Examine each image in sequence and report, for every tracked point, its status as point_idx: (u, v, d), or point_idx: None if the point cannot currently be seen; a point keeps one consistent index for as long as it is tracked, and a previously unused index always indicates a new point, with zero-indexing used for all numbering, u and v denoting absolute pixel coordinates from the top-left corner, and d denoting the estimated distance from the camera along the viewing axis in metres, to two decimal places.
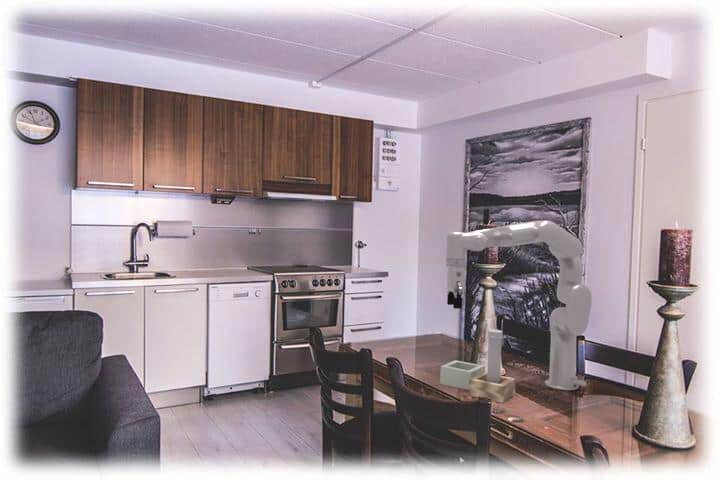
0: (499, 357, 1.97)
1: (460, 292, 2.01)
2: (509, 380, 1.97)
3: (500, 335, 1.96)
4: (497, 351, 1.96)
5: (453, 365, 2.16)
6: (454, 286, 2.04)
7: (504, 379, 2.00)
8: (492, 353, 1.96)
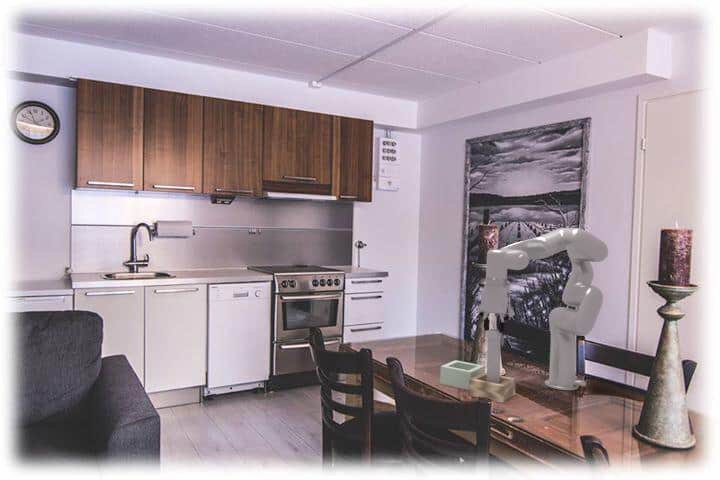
0: (498, 357, 1.97)
1: None
2: (509, 380, 1.97)
3: (499, 335, 1.96)
4: (497, 351, 1.96)
5: (453, 365, 2.16)
6: (505, 310, 1.94)
7: (504, 379, 2.00)
8: (491, 353, 1.96)
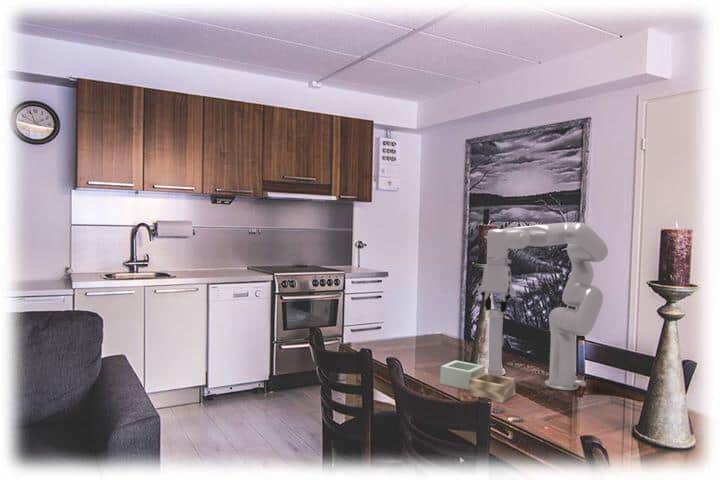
0: (500, 336, 1.97)
1: None
2: (509, 380, 1.97)
3: (501, 314, 1.96)
4: (498, 330, 1.96)
5: (453, 365, 2.16)
6: (506, 289, 1.94)
7: (504, 379, 2.00)
8: (493, 332, 1.96)
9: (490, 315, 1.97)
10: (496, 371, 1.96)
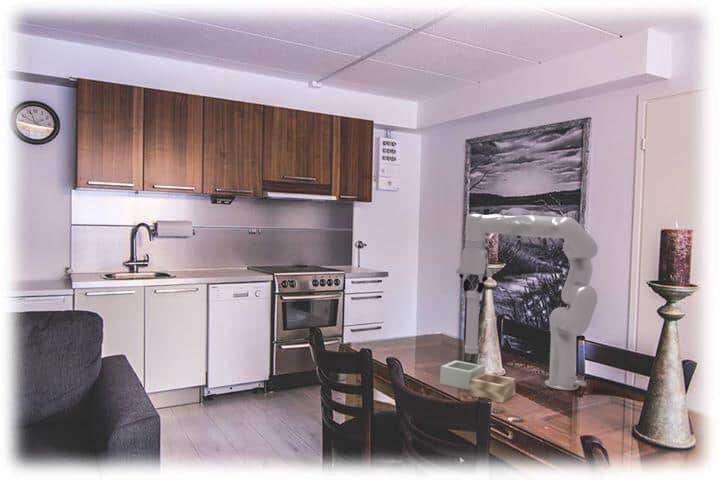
0: (477, 316, 2.06)
1: (488, 277, 2.04)
2: (509, 380, 1.97)
3: (478, 295, 2.06)
4: (475, 310, 2.06)
5: (453, 365, 2.16)
6: (483, 271, 2.04)
7: (504, 379, 2.00)
8: (470, 312, 2.06)
9: (468, 296, 2.07)
10: (472, 349, 2.06)
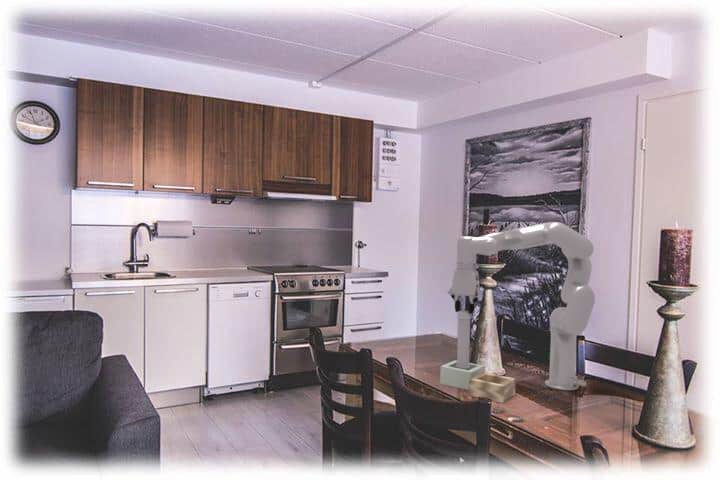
0: (468, 336, 2.10)
1: (479, 298, 2.08)
2: (509, 380, 1.97)
3: (469, 316, 2.10)
4: (466, 331, 2.10)
5: (453, 365, 2.16)
6: (474, 293, 2.08)
7: (504, 379, 2.00)
8: (461, 332, 2.10)
9: (459, 316, 2.11)
10: None
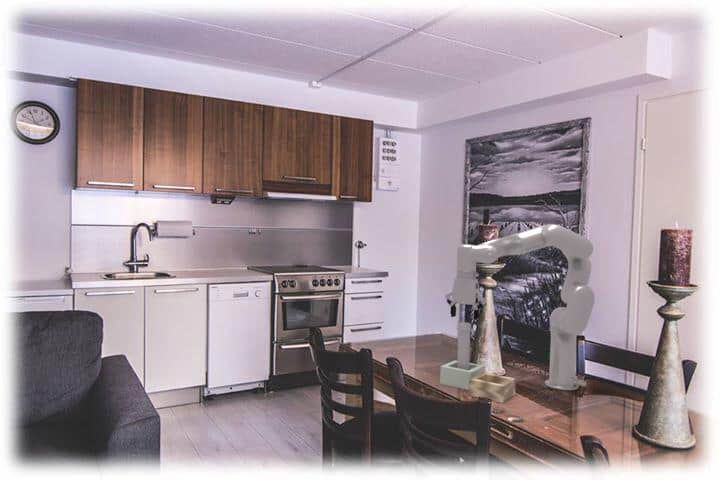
0: (468, 348, 2.11)
1: (483, 303, 2.07)
2: (509, 380, 1.97)
3: (469, 327, 2.10)
4: (466, 342, 2.10)
5: (453, 365, 2.16)
6: (475, 298, 2.07)
7: (504, 379, 2.00)
8: (461, 344, 2.10)
9: (459, 328, 2.11)
10: None
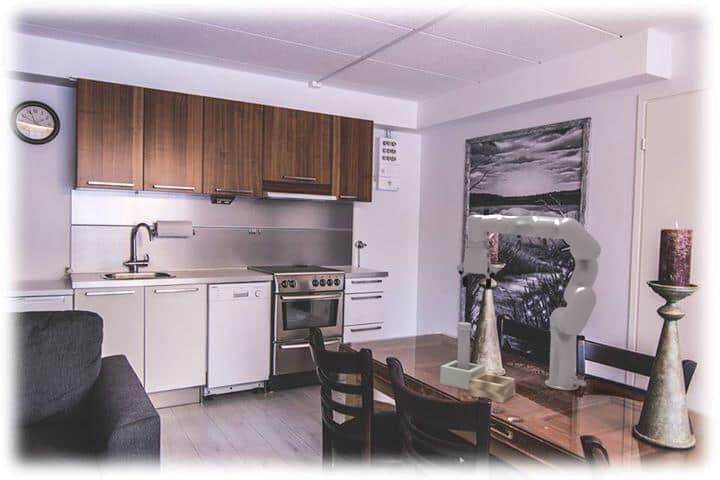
0: (468, 348, 2.11)
1: (495, 272, 2.10)
2: (509, 380, 1.97)
3: (469, 327, 2.10)
4: (466, 342, 2.10)
5: (453, 365, 2.16)
6: (487, 267, 2.10)
7: (504, 379, 2.00)
8: (462, 344, 2.10)
9: (459, 328, 2.11)
10: None
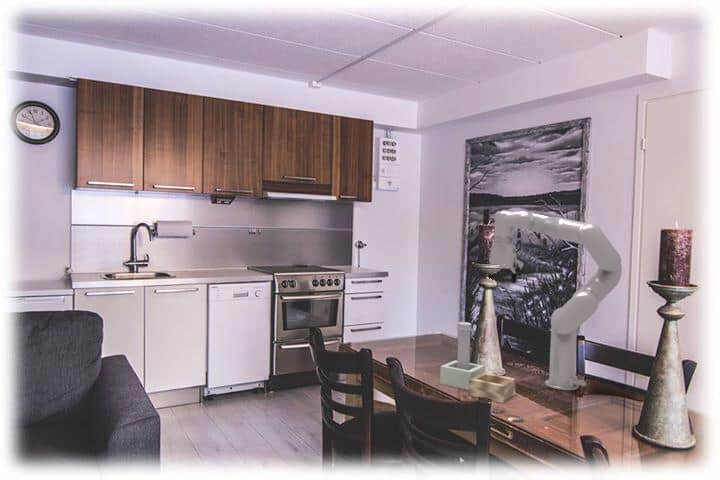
0: (468, 348, 2.11)
1: (521, 267, 2.16)
2: (509, 380, 1.97)
3: (469, 327, 2.10)
4: (466, 342, 2.10)
5: (453, 365, 2.16)
6: (512, 262, 2.17)
7: (504, 379, 2.00)
8: (462, 344, 2.10)
9: (459, 328, 2.11)
10: None
